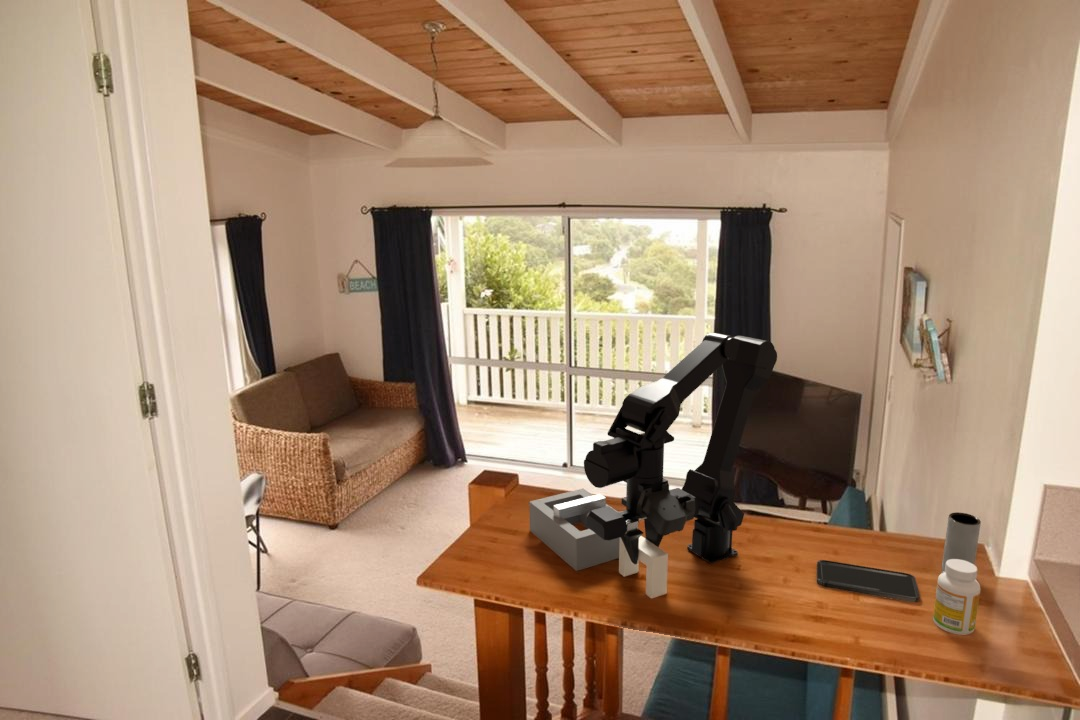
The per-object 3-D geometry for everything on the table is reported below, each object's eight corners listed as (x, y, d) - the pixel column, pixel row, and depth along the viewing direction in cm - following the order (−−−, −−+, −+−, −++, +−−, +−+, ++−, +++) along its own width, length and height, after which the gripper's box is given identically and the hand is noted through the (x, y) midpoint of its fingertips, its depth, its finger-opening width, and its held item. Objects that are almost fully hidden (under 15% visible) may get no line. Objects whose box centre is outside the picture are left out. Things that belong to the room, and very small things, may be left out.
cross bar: (599, 503, 131) (600, 493, 131) (605, 507, 130) (606, 497, 129) (553, 515, 127) (553, 505, 126) (559, 520, 125) (559, 509, 125)
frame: (583, 516, 140) (583, 488, 138) (633, 553, 125) (634, 522, 124) (529, 530, 134) (529, 501, 133) (576, 571, 120) (576, 538, 118)
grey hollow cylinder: (976, 583, 114) (985, 525, 112) (946, 580, 115) (954, 523, 113) (966, 569, 119) (974, 513, 116) (937, 566, 120) (944, 511, 117)
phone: (817, 558, 121) (914, 574, 116) (816, 564, 122) (913, 580, 116) (817, 581, 114) (920, 599, 109) (816, 588, 114) (919, 605, 109)
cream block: (633, 568, 120) (634, 530, 119) (666, 593, 113) (668, 553, 111) (618, 572, 119) (619, 534, 117) (651, 598, 111) (652, 558, 110)
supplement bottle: (959, 613, 106) (968, 555, 104) (982, 635, 101) (992, 574, 99) (924, 614, 106) (932, 556, 104) (946, 636, 101) (954, 575, 99)
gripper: (626, 503, 100) (624, 600, 104) (725, 477, 109) (720, 568, 112) (584, 476, 109) (584, 566, 113) (678, 454, 118) (675, 539, 122)
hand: (642, 560), depth 115 cm, fingers closed on cream block, 3 cm apart
